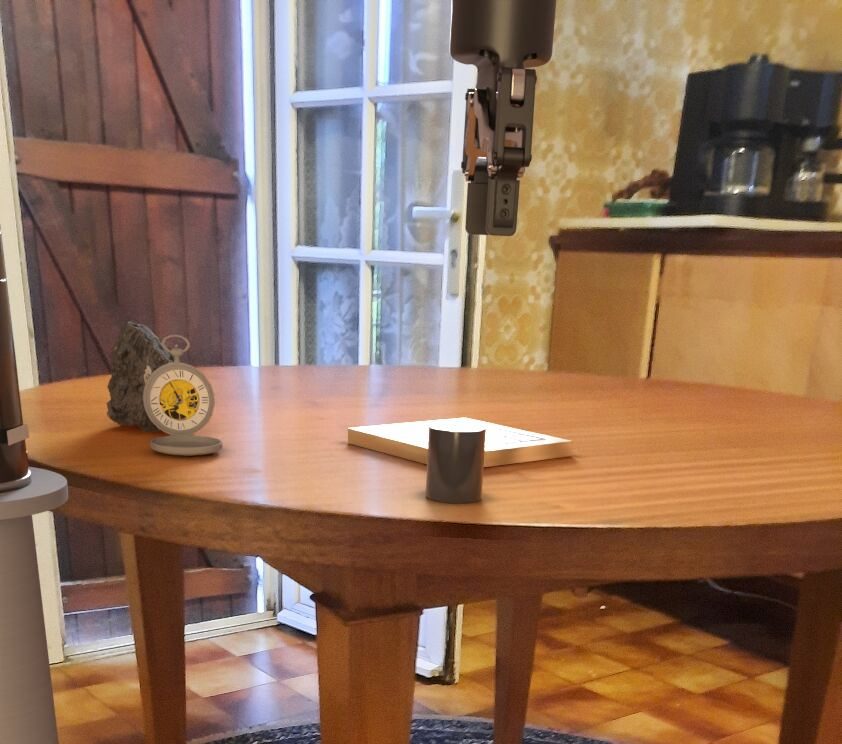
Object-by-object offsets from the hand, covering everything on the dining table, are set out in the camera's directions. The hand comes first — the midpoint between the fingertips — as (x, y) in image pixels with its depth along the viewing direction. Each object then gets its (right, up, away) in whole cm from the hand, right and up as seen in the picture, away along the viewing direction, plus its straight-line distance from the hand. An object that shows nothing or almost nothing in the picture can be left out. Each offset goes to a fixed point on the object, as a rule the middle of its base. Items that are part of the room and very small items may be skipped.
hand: (489, 235), depth 83 cm
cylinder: (-3, -19, +4) cm, 20 cm away
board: (-2, -10, +24) cm, 26 cm away
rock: (-32, -7, +28) cm, 44 cm away
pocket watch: (-28, -12, +18) cm, 35 cm away
